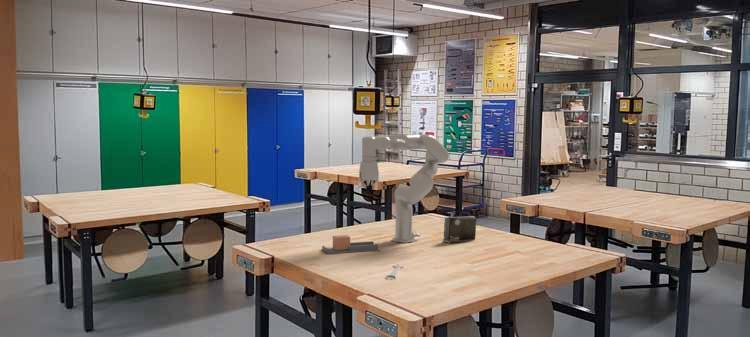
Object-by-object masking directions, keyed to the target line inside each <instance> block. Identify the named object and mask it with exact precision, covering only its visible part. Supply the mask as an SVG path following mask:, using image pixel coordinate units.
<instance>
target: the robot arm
mask: <svg viewBox="0 0 750 337" xmlns="http://www.w3.org/2000/svg"><path fill="white" fill-rule="evenodd" d="M361 139H362V140H361V153H362V154H361V155H362V156H361V159H362V160H361V161H360V164H359V169H358V170H359V171H358V174H359V175H358V178H359V182H360V183H361V184H364V185H365V191H366V193H367V194H372V191H373V186H374V184H375V183H379V181H380V180H379V178H380V176H379V166H378V165H379V164H378V161H377V160H379V156H377V150H382V151H385V150H388V149H392V150H403V151H406V150H407V151H409V150H426V151H425V154H424V155H425V156H424V157H425V162H424V165H423V166H422V167H421V168H420V169H418V171H416V173H414V174H413V175H411V177H410V179H409V181H408V183H409V185H405V184H403V185H402V184H401V185H398V186H397V187H396V188H395V190H394V200H395V223H394V224H395V225H394V226H395V229H394V230H395V231H394V234H395V236H393V237H392V241H393V242H396V243H403V244H405V243H413V242H415V241H416V240H415V239H416V238H417V237H418V238H420V237H421V234H420V233H419V232H417V233H416V232H413V213H414V212H413V210H414V209H413V205H415V204H417V203H419V202H420V201H422V199H423V198H424V197H425V196H427V195H428V194H429V193H430V192H431V191H432V189H433V187H434V182H435V181H434V179H433V178H434V177H435V176H436V174H437V172H438V169H439V164H444V163H446V162H447V161H448V160H449V157H450V155H449V152H448V149H447V148H445V146H444V145H443V144H442V143H441V142H440V141H439V140H438V139H437V138H436V137H435V136H434V135H431V134H420V133H419V134H418V133H417V134H395V135H394V134H393V135H392V134H389V135H385V134H383V135H379V134H377V135H374V136H363V137H362V138H361Z"/></svg>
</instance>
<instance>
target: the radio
mask: <svg viewBox="0 0 750 337" xmlns="http://www.w3.org/2000/svg"><path fill="white" fill-rule="evenodd" d="M443 225H444V227H443V228H444V230H443V239H442V240H441V241H442V242H444V243H445V242H446V243H448V244H453V243H455V244H456V243H463V242H465V243H466V242H471V241H470V240H472V241H474V240H473V239H476V231H477V217H476V216H474V215H468V216H466V215H465V216H464V215H463V216H445V217H444V223H443Z"/></svg>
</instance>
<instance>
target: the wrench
mask: <svg viewBox="0 0 750 337" xmlns="http://www.w3.org/2000/svg"><path fill="white" fill-rule="evenodd" d="M397 265H398V266H397ZM392 267H393V268H394V269H393V271H392V272H391V273H390V274H388V275H385V276H384V279H385V278H386V279H385V280H388V279H390V281H393V280H392V279H394V280H396V279H397V276H396V275H397V273H398V272H399V270H400V269H404V268H405V265H400V264H392ZM403 267H404V268H403ZM399 268H400V269H399ZM397 271H398V272H397ZM394 277H395V278H394Z"/></svg>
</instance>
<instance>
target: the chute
mask: <svg viewBox="0 0 750 337" xmlns="http://www.w3.org/2000/svg"><path fill="white" fill-rule="evenodd" d="M374 242H375V241H374V240H371V241H356V242H350V246H349V249H346V250H334V249H333V247H326V246H324V245H322V246H321V247H322V248H321V250H322V251H323V252H324V253H326V255H332V254H345V253H346V254H347V253H360V252H361V253H363V252H378V251H380V250H379V244H378V243H377V244H376V243H374Z"/></svg>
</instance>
